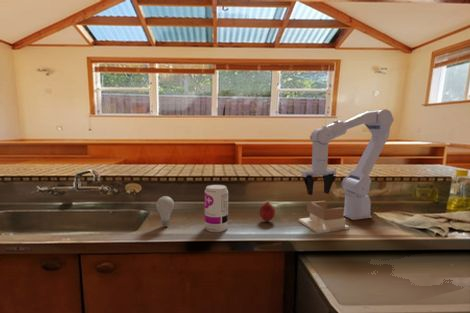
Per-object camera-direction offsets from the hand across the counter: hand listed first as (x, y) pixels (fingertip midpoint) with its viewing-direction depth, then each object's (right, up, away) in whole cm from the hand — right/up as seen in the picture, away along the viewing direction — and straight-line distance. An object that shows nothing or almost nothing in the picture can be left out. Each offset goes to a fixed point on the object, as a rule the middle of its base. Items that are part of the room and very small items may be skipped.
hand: (318, 193), depth 101 cm
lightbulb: (-58, -11, -9) cm, 59 cm away
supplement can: (-39, -11, -10) cm, 42 cm away
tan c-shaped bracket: (0, -7, -7) cm, 9 cm away
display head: (0, -11, -6) cm, 12 cm away
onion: (-21, -10, -3) cm, 23 cm away
